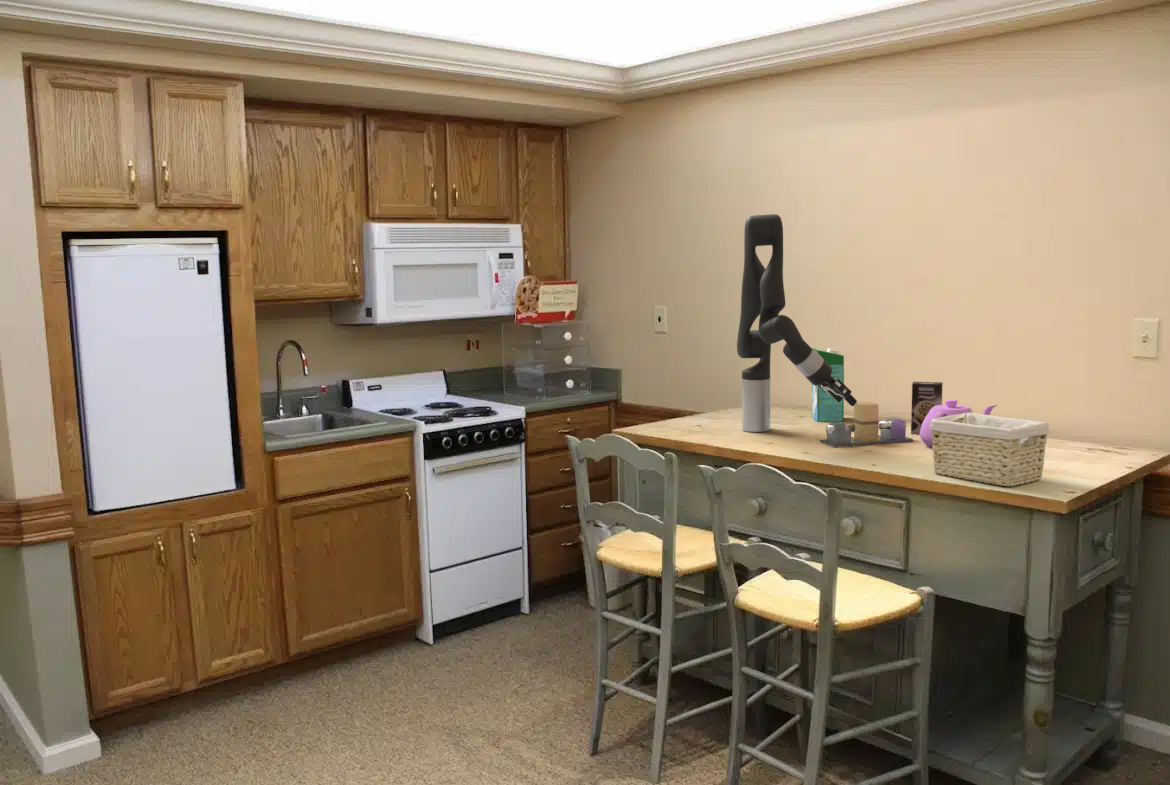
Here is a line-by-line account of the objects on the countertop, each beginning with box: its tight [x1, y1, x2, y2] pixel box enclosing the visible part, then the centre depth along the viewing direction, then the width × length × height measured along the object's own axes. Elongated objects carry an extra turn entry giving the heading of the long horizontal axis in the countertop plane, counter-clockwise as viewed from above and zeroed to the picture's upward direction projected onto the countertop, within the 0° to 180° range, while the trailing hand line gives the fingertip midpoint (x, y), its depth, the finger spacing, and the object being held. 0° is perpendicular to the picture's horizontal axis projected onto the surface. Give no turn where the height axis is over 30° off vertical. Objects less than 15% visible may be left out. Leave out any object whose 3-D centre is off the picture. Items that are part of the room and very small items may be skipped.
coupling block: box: [853, 401, 880, 441], centre depth 290 cm, size 5×5×11 cm
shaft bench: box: [819, 416, 914, 448], centre depth 291 cm, size 26×9×7 cm, turn 102°
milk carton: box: [811, 347, 845, 423], centre depth 332 cm, size 9×9×25 cm
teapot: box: [919, 399, 998, 448], centre depth 278 cm, size 22×22×14 cm
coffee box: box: [910, 381, 944, 435], centre depth 302 cm, size 9×6×16 cm
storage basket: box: [930, 412, 1050, 487], centre depth 240 cm, size 24×16×15 cm
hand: (847, 401), depth 289 cm, fingers open, 8 cm apart
